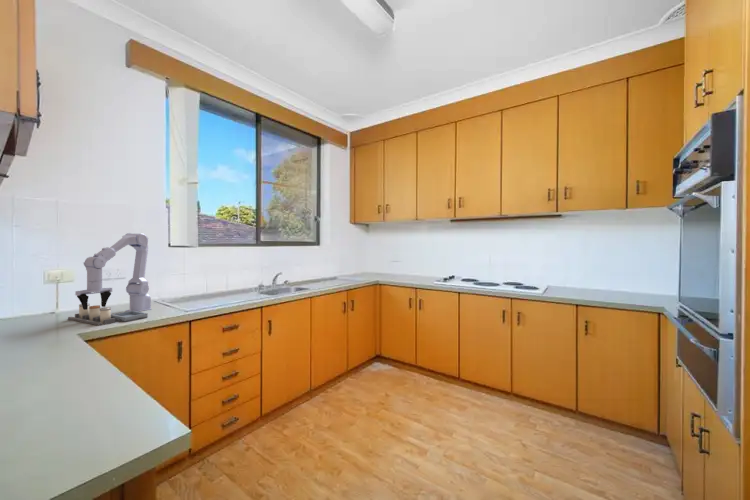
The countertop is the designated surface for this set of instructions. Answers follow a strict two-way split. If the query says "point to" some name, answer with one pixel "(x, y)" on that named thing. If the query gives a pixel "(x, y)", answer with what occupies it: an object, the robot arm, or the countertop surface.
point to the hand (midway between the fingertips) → (94, 308)
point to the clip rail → (95, 320)
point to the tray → (130, 316)
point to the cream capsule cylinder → (83, 311)
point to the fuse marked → (94, 312)
